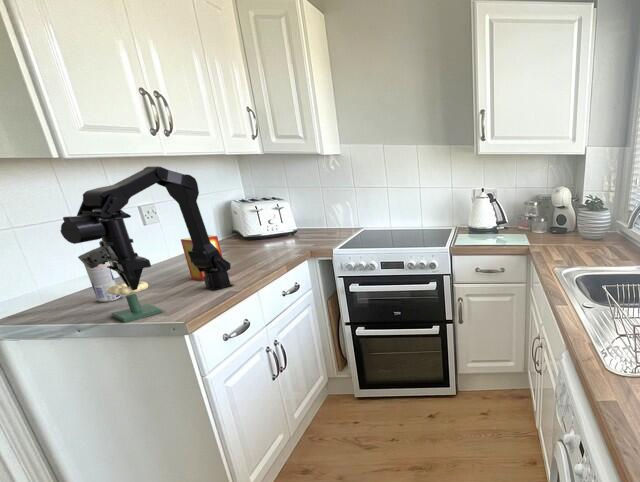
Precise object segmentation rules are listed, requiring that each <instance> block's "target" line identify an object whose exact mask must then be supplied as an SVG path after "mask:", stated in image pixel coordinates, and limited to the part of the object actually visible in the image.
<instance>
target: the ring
mask: <svg viewBox="0 0 640 482" xmlns="http://www.w3.org/2000/svg"><path fill="white" fill-rule="evenodd" d="M148 287H149V283H148V282H146V281H142V280H141V281H139V284H138V288H137V290H132V289H131V287H130V286H129V287H127V285H126V284H125V283H124V282H123V283H119V284H116V286H112V287H110V288H109V289H108V290H107V292H108V293H109V294H111V295H120V296H123V295H131V294H136V293H139V292H143V291H145V290H147V289H148Z"/></svg>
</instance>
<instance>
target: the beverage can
mask: <svg viewBox="0 0 640 482" xmlns="http://www.w3.org/2000/svg"><path fill="white" fill-rule="evenodd" d="M83 266H84V267H85V271H86V273H87V276H88V279H89V282H90V284H91V286H92V289H93V292H94V294H95V297H96V300H97V302H100V303H108V302H109V303H110V302H112V301H117V300H119V299H120V298H121V295H111V294H109V293H108V292H107V290H108V289H109V288H110V287H112V286H116V285H117V283H116V280H115V277H114V275H113V272H112V269H109V268H107V266H110V264H109V262H105V264H103V265H102V264H99V265H98V266H97V267H95V268H89V267H87V266H86V265H85V264H84V263H83Z"/></svg>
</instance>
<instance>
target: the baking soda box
mask: <svg viewBox="0 0 640 482" xmlns="http://www.w3.org/2000/svg"><path fill="white" fill-rule="evenodd" d="M208 237H209V240H210V242H211V243H212V244H213V245H214V246H215V247H216V248H217V249H218V251H219V253H220V255H221V257H222V258H223V259H224V257H223V253H222V250H221V245H220V241H219V237H218V235H212V234H211V235H210V234H208ZM180 243H181V246H182V249H183V252H184V257H185V260H186V263H187V267H188V270H189V275H190V276H191V280H195V281H203V282H205V281H204V276H205V275H204V272H200V271H199V270H198V268H197V267H196V266H195V265H194V264H193V263H191V259H190V256H189V254H188V251H192V247H193V243H192V240H191V237H186V238H181V239H180Z"/></svg>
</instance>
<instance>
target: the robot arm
mask: <svg viewBox="0 0 640 482" xmlns="http://www.w3.org/2000/svg"><path fill="white" fill-rule="evenodd" d="M155 184H157V185H159V186H160V187H163V188H165V189H166V191H167V193H168V195H169V197H171V198H172V199H173V200H174V201H176V203H177V205H178V207H179V208H180V212H181V215H182V218H183V221H184V223H185V225H186V229H187V232H188V234H189V238H191V240H192V243H193V247H192V251H188V254H189V256H190V259H191V263H193V264H194V265H195V266H196V267H197V268H198V270H199V271H200V272H204V275H205V276H204V281H203V282H204V284H205V289H209V290H212V291H217V290H221V289H224V288H229V287H233V286H234V284H233V283H231V281H230V277H229V273H228V271H231V266H232V264H231V263H230V262H229V261H228V260H227V259H226V258H224V257H223V256H222V257H223V258H222V257H221V255H220V253H219V251H218V249H217V248H216V247H215V246H214V245H213V244H212V243H211V242H210V240H209V237H208V235H209V233H208V231H207V229H206V225H205V222H204V220H203V216H202V213H201V210H200V207H199V205H198V202H197V200H198V197H199V195H200V191H199V186H198V182H197V179H196V178H195V177H193V176H192V175H190V174H189V173H188V174H186V173H185V174H184V173H181V172H179V171H173V170H170V169H167V168H165V167H162V166H159V165H158V166H156V165H155V166H153V165H152V166H151V165H150V166H145V167H144V168H143V169H142V170H139V171H138V172H136V173H133V174H131V175H130V176H127V177H126V178H124V179H121V180H119V181H117V182H116V183H114V184H111V185H105V186H100V187H97V188H91V189H88V190H86V191H85V192H83V194H82V201H81V204H80V206H79V209H78V211H77V213H76V215H75V216H63V217H62V219H63V222H62V223H61V225H60V234H61V236H62V237H63V239H64V240H65V241H67V242H68V243H71V244H73V245H76V244H81V243H87V242H93V241H98V240H99V241H98V243H99V246H98V247H96V248H94V249H93V248H92V249H90V250H89V251H86V252H85V253H83V254H80V255H79V256H78V257H77V259H78V260H80V262H81V263H82V264H83V265H84V264H85V265H86V266H87V267H89V268H95V267H97V266H98V265H99V264H102V265H103V264H105V262H108V263H109V266H107V268H109V269H111V271H114V272H116V273H117V274H118V276H119V277H120V278H121V280H122V281H123V284H124V283H125V284H126V285H127V287H129V286H130V287H131V289H132V290H137V288H138V284H139V282H140V280H141V276H142V273H143V270H144V269H146V268H151V267H152V264H151V261H150V259H148V258H146V257H143V256H140V255H139V254H138V253H137V252H136V251H135V249H134V247H133V243H134V239H133V238H130V235H129V233H128V228H127V226H126V223H125V220H124V219H129V218H131V217H132V215H131V214H129V213H126V212H125V211H124V210H122V209H123V208H125V206H127V205H128V204H129V201H130V199H131V198H132V197H134V196H136V195H137V194H139V193H142V192H143V191H144V190H146V189H149V188H150V187H152V186H154V185H155ZM85 265H84V266H85Z"/></svg>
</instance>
